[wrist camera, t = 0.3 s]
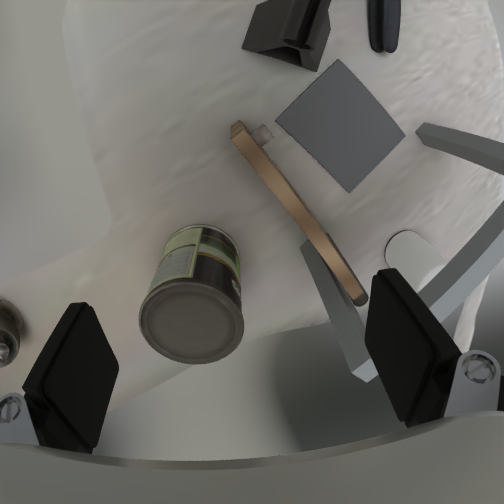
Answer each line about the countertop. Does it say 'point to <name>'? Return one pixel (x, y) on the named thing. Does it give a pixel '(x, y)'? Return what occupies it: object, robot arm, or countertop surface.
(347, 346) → the door frame
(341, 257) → the gate door
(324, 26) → the phone stand
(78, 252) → the countertop surface
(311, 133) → the rubber mat
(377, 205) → the countertop surface
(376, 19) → the can opener
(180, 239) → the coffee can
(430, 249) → the can
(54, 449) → the robot arm
